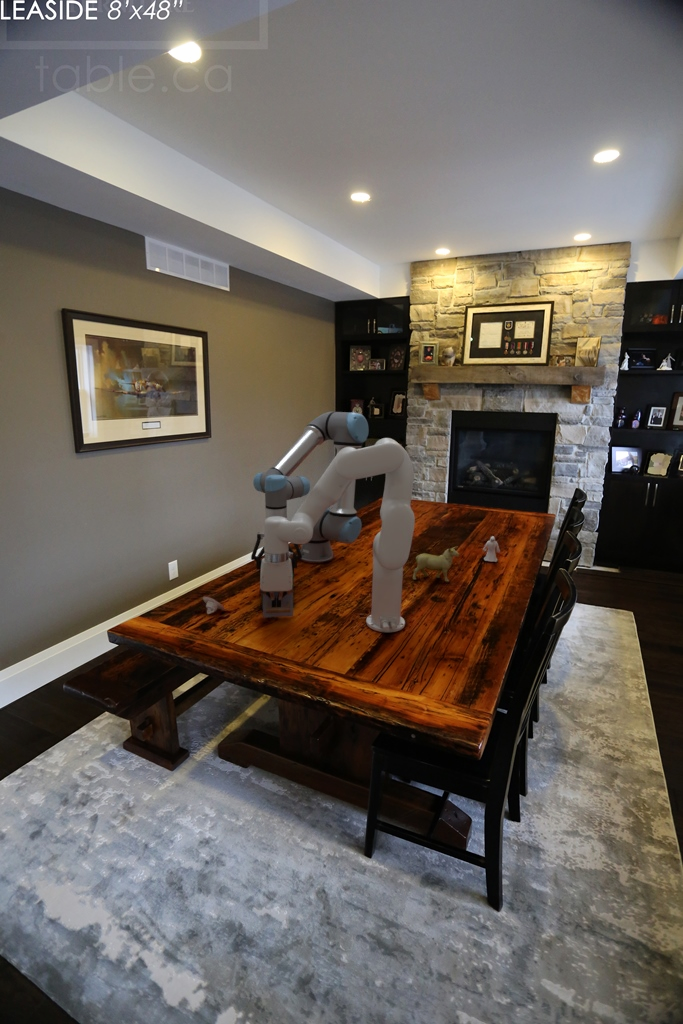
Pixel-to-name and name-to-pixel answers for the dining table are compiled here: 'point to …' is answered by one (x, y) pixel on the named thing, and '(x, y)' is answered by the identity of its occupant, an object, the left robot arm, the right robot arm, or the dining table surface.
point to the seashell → (212, 605)
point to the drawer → (276, 611)
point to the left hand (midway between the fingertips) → (277, 576)
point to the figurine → (491, 550)
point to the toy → (436, 563)
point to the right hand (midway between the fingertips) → (276, 610)
